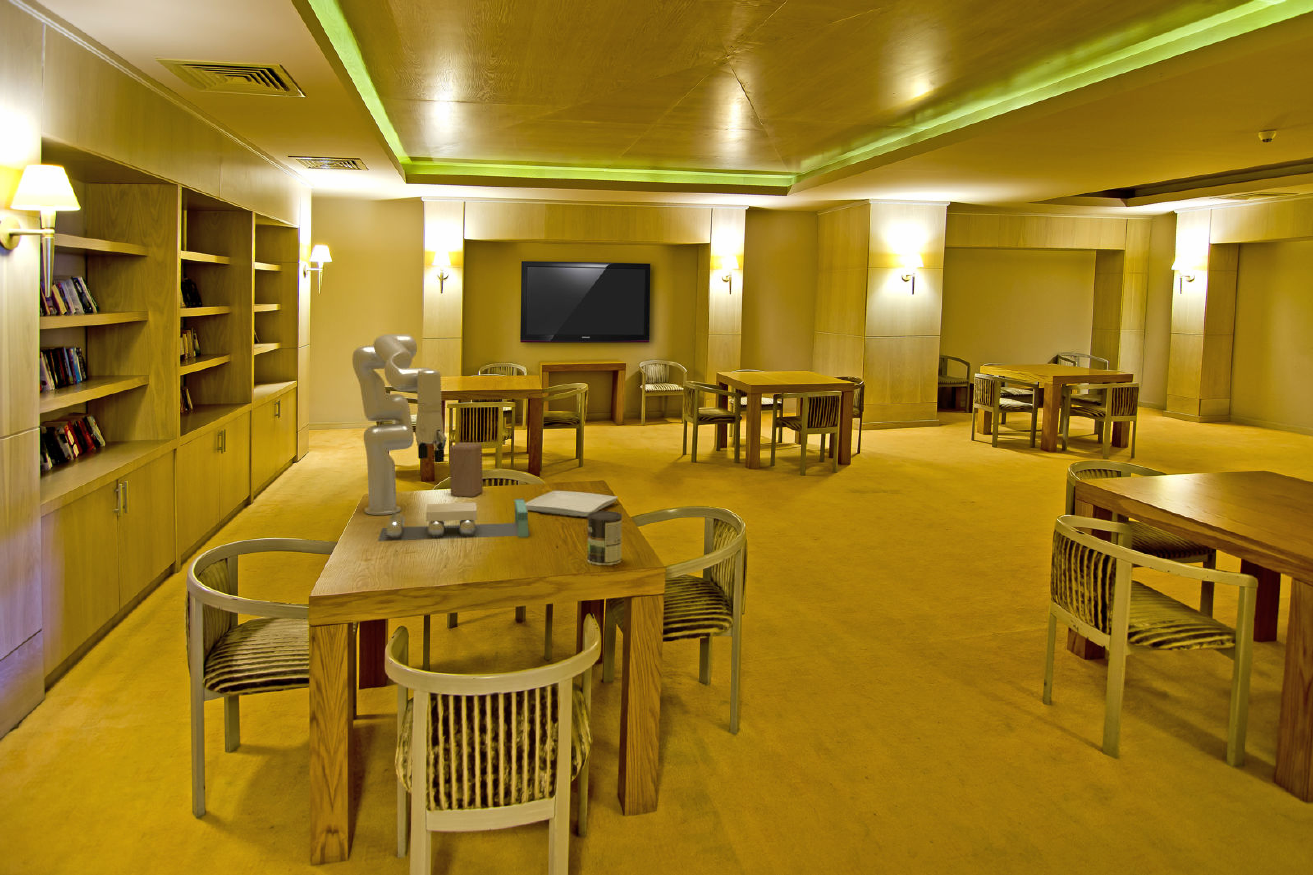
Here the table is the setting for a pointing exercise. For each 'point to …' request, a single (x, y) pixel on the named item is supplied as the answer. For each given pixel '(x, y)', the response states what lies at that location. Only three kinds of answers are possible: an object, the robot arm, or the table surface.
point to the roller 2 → (467, 527)
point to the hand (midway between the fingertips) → (431, 460)
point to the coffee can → (604, 538)
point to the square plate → (570, 503)
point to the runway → (480, 529)
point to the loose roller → (395, 526)
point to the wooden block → (466, 469)
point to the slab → (451, 512)
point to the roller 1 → (436, 528)
